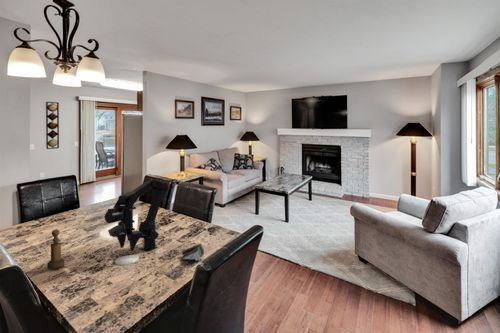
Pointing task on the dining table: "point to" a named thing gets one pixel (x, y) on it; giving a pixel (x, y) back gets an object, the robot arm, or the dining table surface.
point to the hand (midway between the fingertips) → (126, 249)
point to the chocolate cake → (193, 252)
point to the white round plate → (126, 260)
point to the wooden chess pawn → (55, 252)
